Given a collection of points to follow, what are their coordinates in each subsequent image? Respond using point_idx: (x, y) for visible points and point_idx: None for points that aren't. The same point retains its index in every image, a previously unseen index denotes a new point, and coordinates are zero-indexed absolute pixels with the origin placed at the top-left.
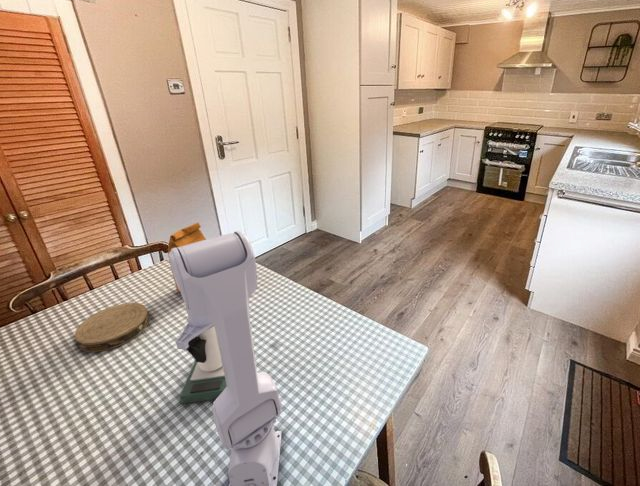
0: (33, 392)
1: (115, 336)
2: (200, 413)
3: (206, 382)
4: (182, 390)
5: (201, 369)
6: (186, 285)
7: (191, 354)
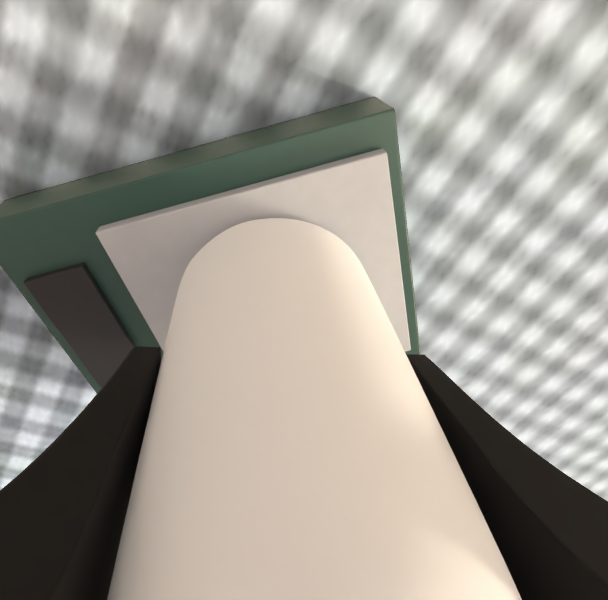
0: None
1: None
2: (10, 326)
3: (121, 332)
4: (18, 216)
5: (184, 272)
6: None
7: (82, 414)
